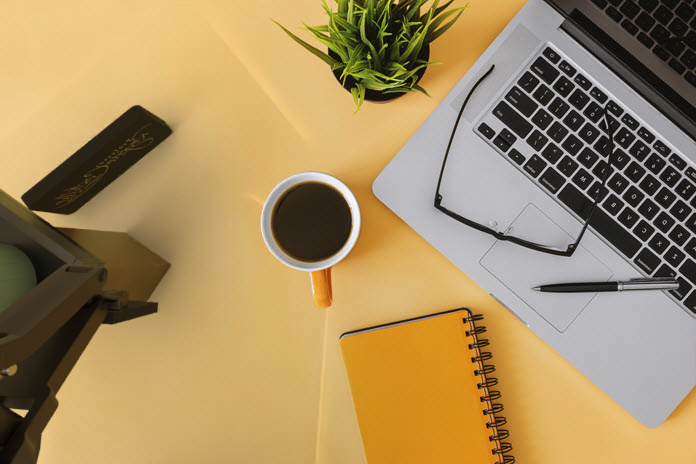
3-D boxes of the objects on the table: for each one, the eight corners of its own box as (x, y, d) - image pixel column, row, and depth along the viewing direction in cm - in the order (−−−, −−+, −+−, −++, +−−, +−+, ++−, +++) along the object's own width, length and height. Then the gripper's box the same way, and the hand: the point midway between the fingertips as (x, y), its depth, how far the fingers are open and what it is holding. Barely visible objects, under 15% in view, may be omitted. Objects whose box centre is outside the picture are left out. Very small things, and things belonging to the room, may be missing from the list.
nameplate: (167, 122, 76) (136, 102, 66) (174, 132, 76) (144, 113, 66) (63, 206, 76) (17, 199, 66) (70, 215, 76) (25, 209, 66)
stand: (138, 313, 75) (15, 345, 49) (92, 280, 75) (-55, 294, 49) (171, 264, 75) (65, 270, 49) (125, 232, 75) (-5, 221, 49)
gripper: (-118, 1004, 15) (167, 566, 36) (-36, 213, 16) (194, 236, 37) (-339, 970, 16) (70, 556, 37) (-246, 199, 17) (100, 229, 38)
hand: (133, 394), depth 37 cm, fingers open, 13 cm apart
